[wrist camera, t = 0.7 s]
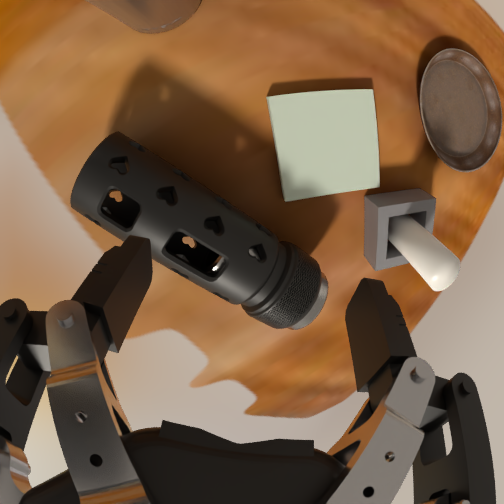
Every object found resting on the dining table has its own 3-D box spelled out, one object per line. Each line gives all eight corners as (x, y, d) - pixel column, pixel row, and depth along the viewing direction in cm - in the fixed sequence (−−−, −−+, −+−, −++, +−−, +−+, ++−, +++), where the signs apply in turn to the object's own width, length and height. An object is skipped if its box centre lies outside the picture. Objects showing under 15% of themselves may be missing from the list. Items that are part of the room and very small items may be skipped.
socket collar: (364, 195, 33) (378, 207, 30) (419, 188, 33) (436, 198, 30) (363, 255, 38) (375, 271, 34) (414, 244, 37) (428, 257, 34)
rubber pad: (266, 97, 27) (268, 96, 26) (367, 89, 26) (372, 89, 25) (283, 197, 33) (285, 201, 32) (374, 183, 32) (379, 187, 31)
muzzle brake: (134, 123, 27) (94, 135, 18) (319, 249, 37) (344, 298, 28) (99, 190, 31) (57, 225, 22) (273, 296, 40) (284, 350, 32)
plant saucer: (393, 140, 30) (406, 144, 27) (420, 27, 22) (433, 24, 19) (472, 182, 33) (484, 188, 30) (496, 88, 24) (509, 90, 22)
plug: (379, 209, 34) (434, 261, 23) (406, 205, 34) (464, 252, 23) (378, 238, 37) (426, 295, 25) (404, 233, 36) (455, 285, 25)
